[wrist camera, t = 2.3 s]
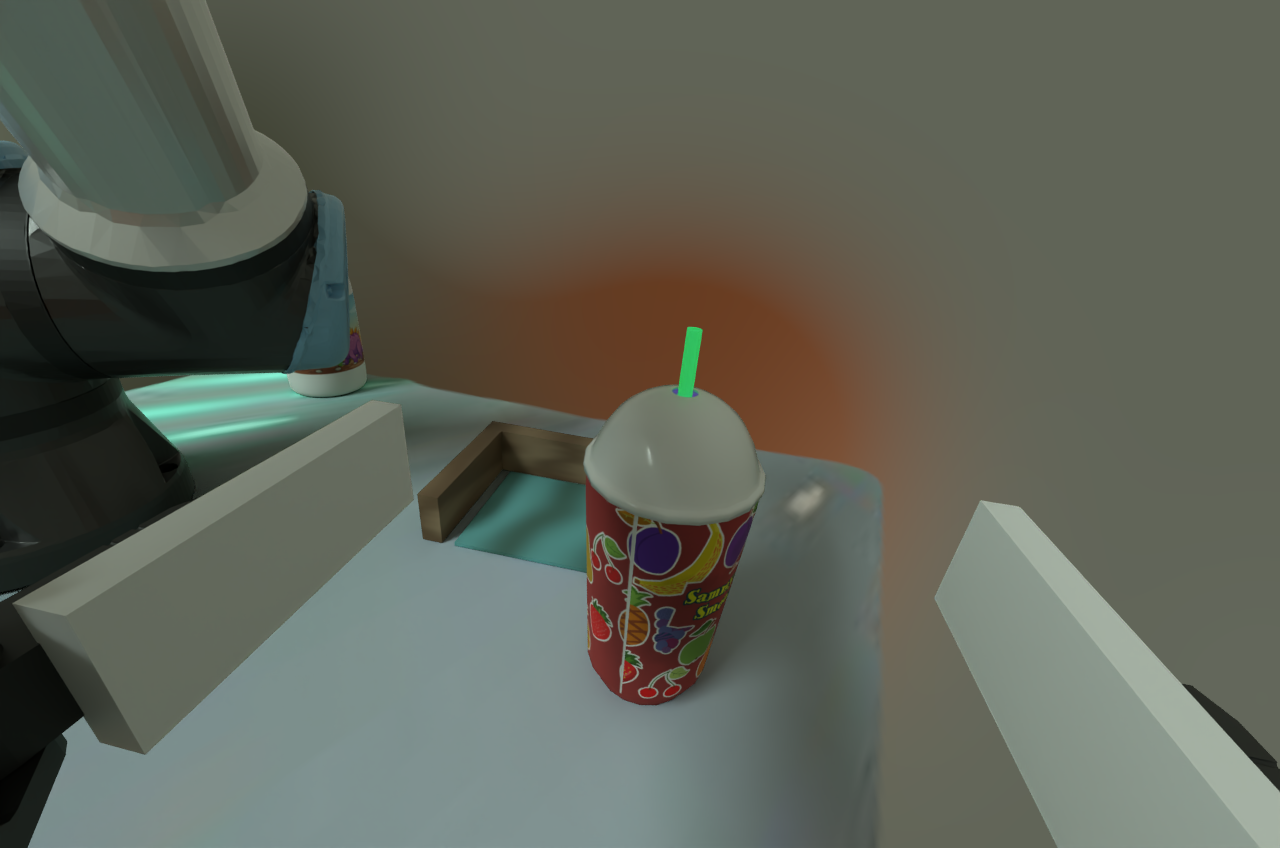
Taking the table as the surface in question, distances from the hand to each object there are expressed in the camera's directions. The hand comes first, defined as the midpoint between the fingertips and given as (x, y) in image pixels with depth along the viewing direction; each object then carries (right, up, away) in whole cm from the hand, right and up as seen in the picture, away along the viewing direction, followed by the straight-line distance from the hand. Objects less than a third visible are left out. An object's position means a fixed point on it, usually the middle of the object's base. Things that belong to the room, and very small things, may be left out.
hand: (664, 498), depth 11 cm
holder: (-8, -6, +28) cm, 30 cm away
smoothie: (0, -12, +18) cm, 21 cm away
